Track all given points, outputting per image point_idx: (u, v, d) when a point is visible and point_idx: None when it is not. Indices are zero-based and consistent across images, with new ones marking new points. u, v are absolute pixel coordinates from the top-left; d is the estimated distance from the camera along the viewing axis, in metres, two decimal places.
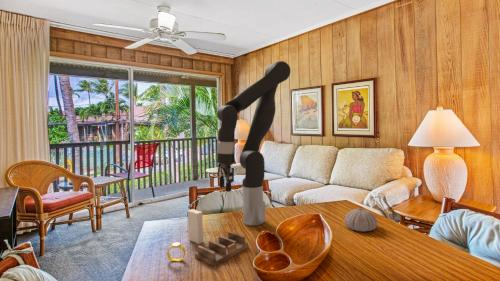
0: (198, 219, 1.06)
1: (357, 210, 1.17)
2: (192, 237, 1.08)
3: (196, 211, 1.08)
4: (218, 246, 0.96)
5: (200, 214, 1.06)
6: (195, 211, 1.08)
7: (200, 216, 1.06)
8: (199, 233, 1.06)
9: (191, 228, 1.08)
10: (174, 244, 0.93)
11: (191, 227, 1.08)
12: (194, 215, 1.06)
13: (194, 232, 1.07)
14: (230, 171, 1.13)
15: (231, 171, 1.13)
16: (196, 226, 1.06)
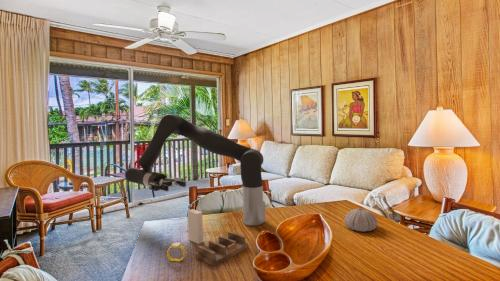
0: (198, 219, 1.06)
1: (357, 210, 1.17)
2: (192, 237, 1.08)
3: (196, 211, 1.08)
4: (218, 246, 0.96)
5: (200, 214, 1.06)
6: (195, 211, 1.08)
7: (200, 216, 1.06)
8: (199, 233, 1.06)
9: (191, 228, 1.08)
10: (174, 244, 0.93)
11: (191, 227, 1.08)
12: (194, 215, 1.06)
13: (194, 232, 1.07)
14: (149, 186, 1.15)
15: (149, 185, 1.15)
16: (196, 226, 1.06)
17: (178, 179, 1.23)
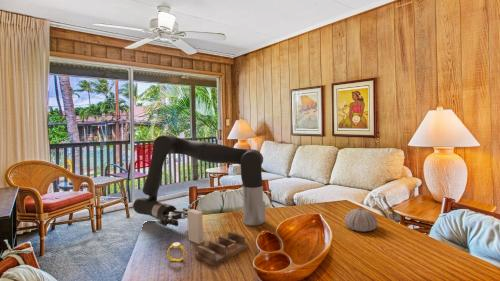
0: (198, 219, 1.06)
1: (357, 210, 1.17)
2: (192, 237, 1.08)
3: (196, 211, 1.08)
4: (218, 246, 0.96)
5: (200, 214, 1.06)
6: (195, 211, 1.08)
7: (200, 216, 1.06)
8: (199, 233, 1.06)
9: (191, 228, 1.08)
10: (174, 244, 0.93)
11: (191, 227, 1.08)
12: (194, 215, 1.06)
13: (194, 232, 1.07)
14: (159, 221, 1.13)
15: (159, 220, 1.13)
16: (196, 226, 1.06)
17: None
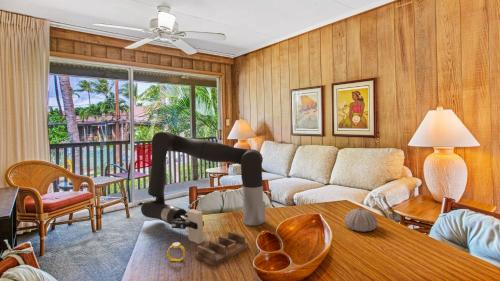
0: (198, 219, 1.06)
1: (357, 210, 1.17)
2: (192, 237, 1.08)
3: (196, 211, 1.08)
4: (218, 246, 0.96)
5: (200, 214, 1.06)
6: (195, 211, 1.08)
7: (200, 216, 1.06)
8: (199, 233, 1.06)
9: (191, 228, 1.08)
10: (174, 244, 0.93)
11: None
12: (194, 215, 1.06)
13: (194, 232, 1.07)
14: (174, 225, 1.07)
15: (174, 224, 1.07)
16: None
17: None
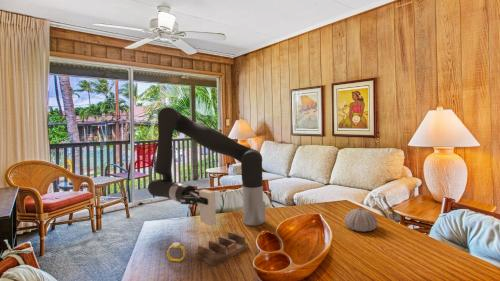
0: (211, 199, 1.00)
1: (357, 210, 1.17)
2: (204, 218, 1.02)
3: (208, 191, 1.02)
4: (218, 246, 0.96)
5: (213, 194, 1.01)
6: (207, 191, 1.02)
7: (213, 196, 1.01)
8: (212, 214, 1.01)
9: (203, 209, 1.03)
10: (174, 244, 0.93)
11: (203, 208, 1.02)
12: (206, 195, 1.01)
13: (206, 213, 1.02)
14: (183, 201, 1.02)
15: (183, 200, 1.02)
16: (208, 206, 1.00)
17: None
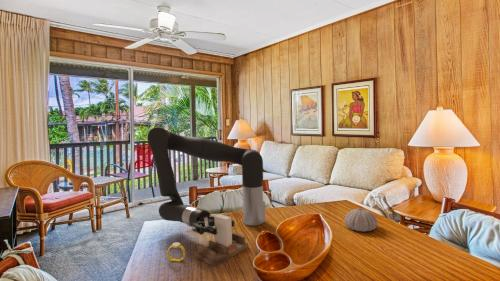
0: (227, 225, 0.95)
1: (357, 210, 1.17)
2: None
3: (224, 216, 0.97)
4: (218, 246, 0.96)
5: (229, 220, 0.96)
6: (223, 216, 0.97)
7: (229, 222, 0.96)
8: (228, 241, 0.96)
9: (218, 235, 0.98)
10: (174, 244, 0.93)
11: (219, 234, 0.97)
12: (223, 221, 0.96)
13: (222, 240, 0.97)
14: (193, 228, 0.98)
15: (193, 227, 0.98)
16: (225, 233, 0.95)
17: None
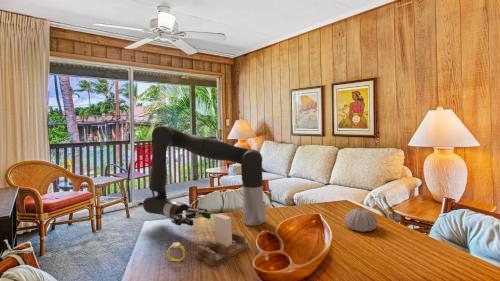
0: (227, 225, 0.95)
1: (357, 210, 1.17)
2: None
3: (224, 216, 0.97)
4: (218, 246, 0.96)
5: (229, 220, 0.96)
6: (223, 216, 0.97)
7: (229, 222, 0.96)
8: (228, 241, 0.96)
9: (218, 235, 0.98)
10: (174, 244, 0.93)
11: (219, 234, 0.97)
12: (223, 221, 0.96)
13: (222, 240, 0.97)
14: (172, 220, 1.06)
15: (172, 219, 1.06)
16: (225, 233, 0.95)
17: (201, 209, 1.14)
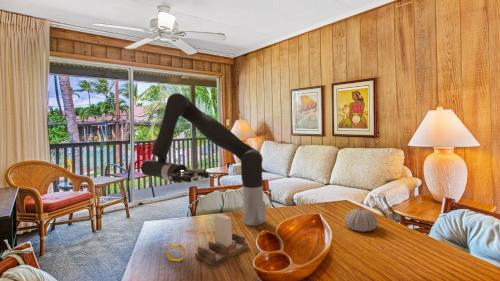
0: (227, 225, 0.95)
1: (357, 210, 1.17)
2: None
3: (224, 216, 0.97)
4: (218, 246, 0.96)
5: (229, 220, 0.96)
6: (223, 216, 0.97)
7: (229, 222, 0.96)
8: (228, 241, 0.96)
9: (218, 235, 0.98)
10: (174, 244, 0.93)
11: (219, 234, 0.97)
12: (223, 221, 0.96)
13: (222, 240, 0.97)
14: (170, 178, 1.05)
15: (170, 177, 1.05)
16: (225, 233, 0.95)
17: (200, 170, 1.13)
